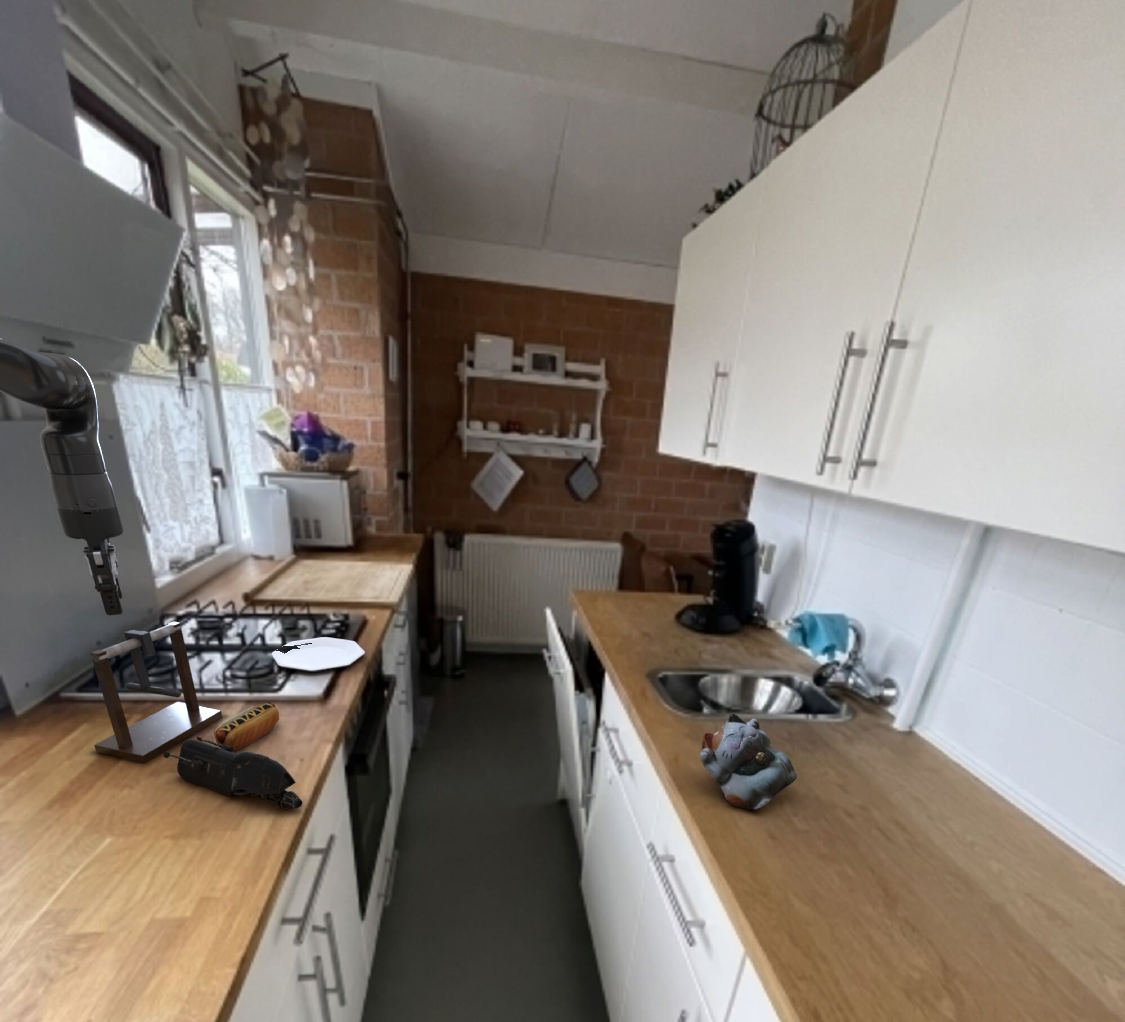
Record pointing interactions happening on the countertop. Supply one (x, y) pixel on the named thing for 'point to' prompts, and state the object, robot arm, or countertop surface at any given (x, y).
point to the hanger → (140, 665)
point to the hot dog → (247, 726)
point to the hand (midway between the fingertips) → (115, 606)
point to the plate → (319, 654)
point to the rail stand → (162, 726)
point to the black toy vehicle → (235, 772)
